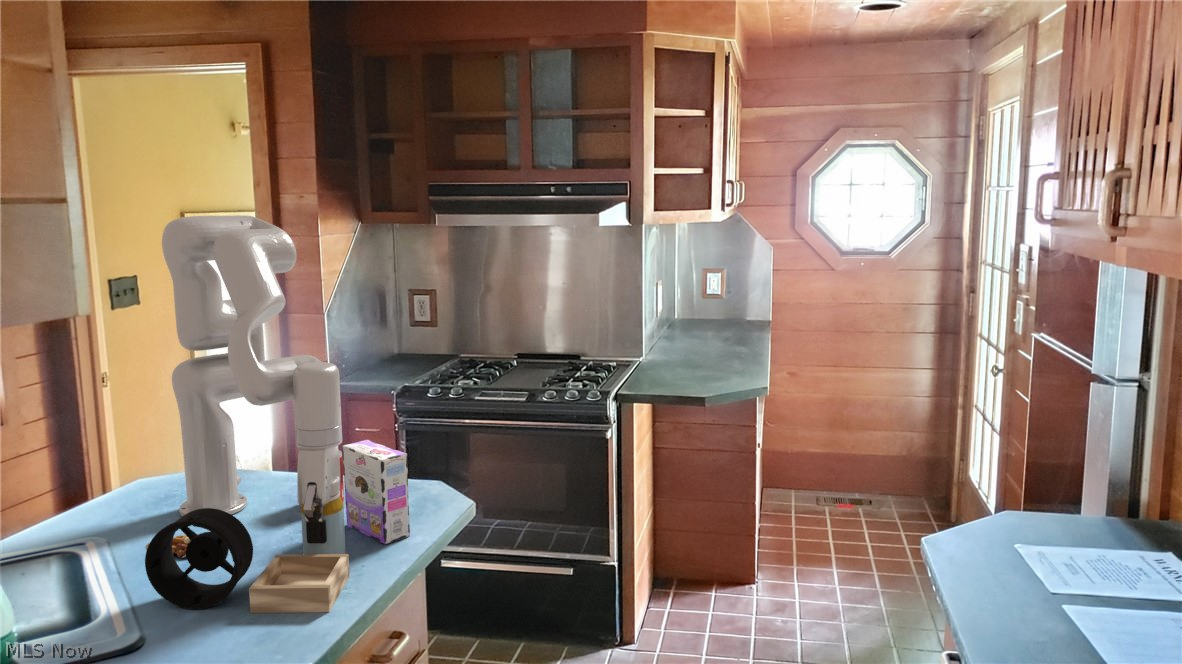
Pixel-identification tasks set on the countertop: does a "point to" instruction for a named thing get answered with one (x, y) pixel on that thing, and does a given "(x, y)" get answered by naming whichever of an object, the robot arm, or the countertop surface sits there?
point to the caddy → (299, 583)
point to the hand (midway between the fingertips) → (323, 532)
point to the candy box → (376, 491)
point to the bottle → (328, 525)
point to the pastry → (179, 545)
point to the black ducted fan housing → (199, 558)
